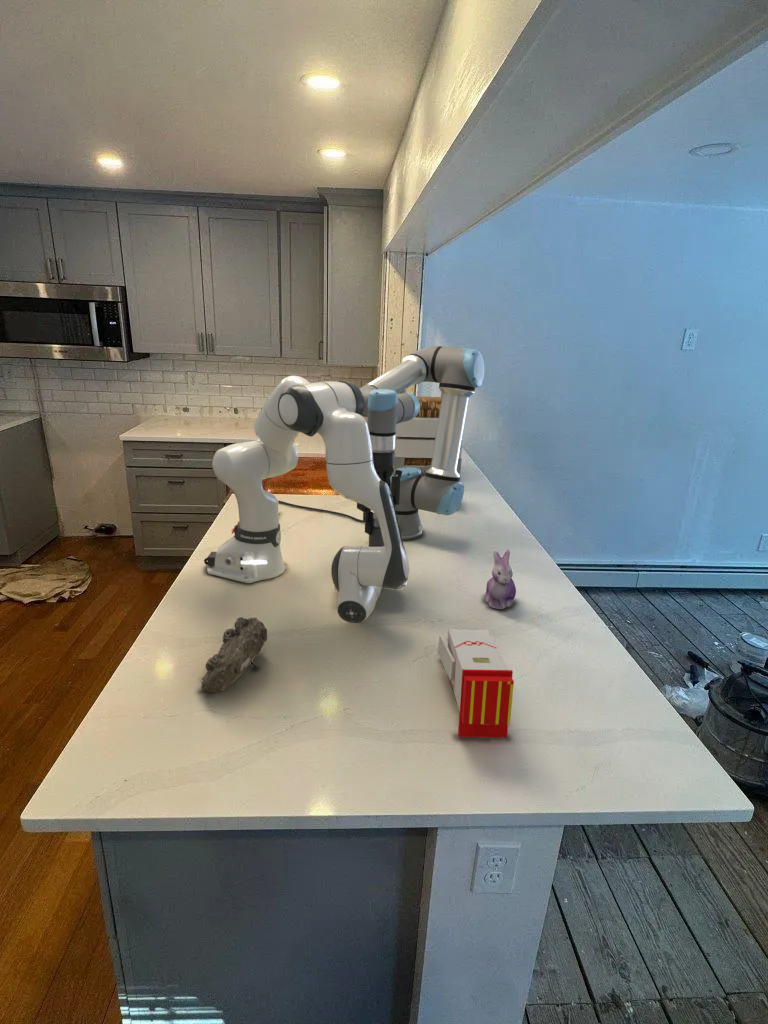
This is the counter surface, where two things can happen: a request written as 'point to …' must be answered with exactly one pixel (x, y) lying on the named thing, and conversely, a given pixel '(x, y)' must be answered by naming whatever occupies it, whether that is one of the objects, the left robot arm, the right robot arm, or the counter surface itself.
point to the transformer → (419, 436)
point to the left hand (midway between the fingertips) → (376, 562)
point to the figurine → (501, 583)
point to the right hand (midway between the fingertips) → (377, 531)
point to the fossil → (234, 654)
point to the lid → (375, 521)
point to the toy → (478, 682)
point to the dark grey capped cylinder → (376, 538)
